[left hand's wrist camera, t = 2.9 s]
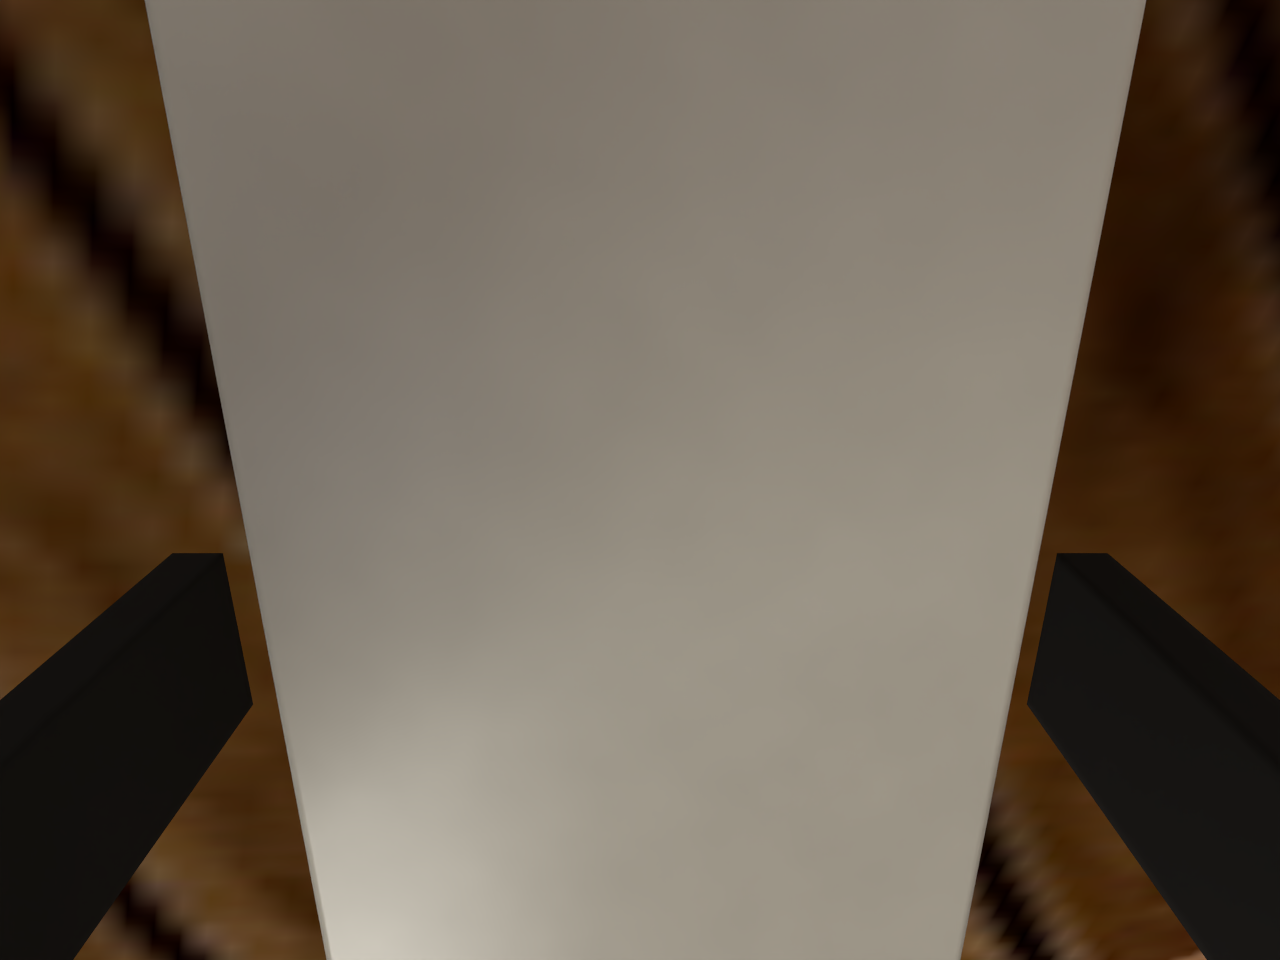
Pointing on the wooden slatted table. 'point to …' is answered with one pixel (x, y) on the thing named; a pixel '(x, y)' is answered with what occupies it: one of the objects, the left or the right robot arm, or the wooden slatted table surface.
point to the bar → (644, 443)
